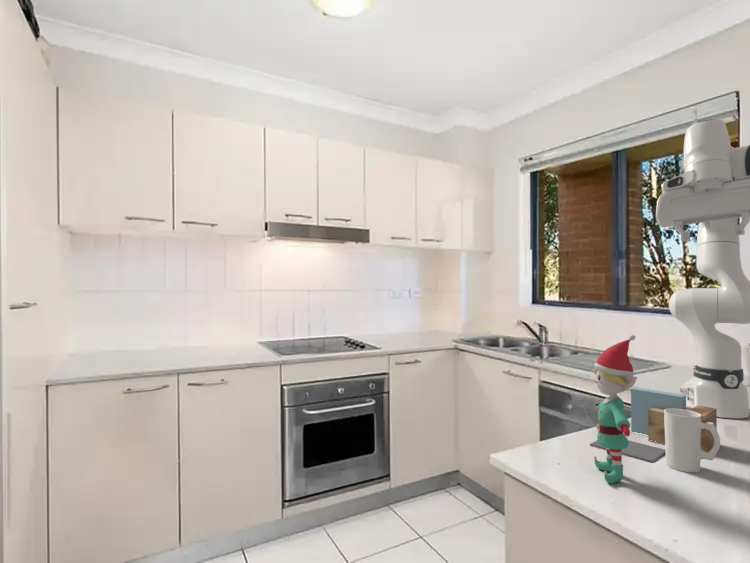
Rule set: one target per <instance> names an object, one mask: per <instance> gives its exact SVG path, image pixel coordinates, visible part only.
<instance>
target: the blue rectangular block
mask: <svg viewBox="0 0 750 563" xmlns="http://www.w3.org/2000/svg"><path fill="white" fill-rule="evenodd" d="M651 408H657V409H663V410H665V409H684V410H686V395H682V394H681V393H675V392H669V391H662V390H657V389H650V388H643V387H638V386H634V387H631V388H630V418H631V419H630V428H631V431H632V432H637V433H642V434H646V435H648V410H649V409H651ZM631 431H630V432H631ZM632 432H631V433H632Z"/></svg>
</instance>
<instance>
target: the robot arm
mask: <svg viewBox="0 0 750 563" xmlns="http://www.w3.org/2000/svg"><path fill="white" fill-rule="evenodd" d="M731 146H732V145H731V139H730V135H729V131H728V127H727V125H726V122H724V120H721V119H719V118H717V119H715V118H711V119H706V120H701V121H698V122H695V123H693V124H692V125H690V126H689V127H688V128H687V129H686V131H685V133H684V140H683V157H682V159H681V160H680V162H679V166H680V168H679V169H680V175H677V176H674V177H672V178H671V179H669V180H666V181H663V183H661V194H660V195H659V197H658V199H657V201H656V203H657V204H656V209H655V220H656V224H657V225H658V226H659V227H661V228H669V227H670V228H671V227H675V230H676V231H677V233H679V234H680V241H681V242H689V241H691V238H690V237H691V234H690V230H684V226H685V225H692V224H693V225H694V224H699V226H698V231H697V236H696V262H695V263H696V270H697V271H698V273H699V274H701V275H702V276H703V277H706V278H708V279H711V280H714V281H716V282H718V284H720V285H721V286H719V287H697V288H696V287H692V288H691V287H690V288H684V289H679V290H676V291H674V292H673V293H672V295H671V296H670V298H669V300H668V309H669V312H670V313H671V315H672V316H673V318H674V319H676V320H678V321H679V322H681V323H682V324H683V325H684V326H686V328H687V329H688V330H689V332H690V333H691V335H692V337H693V339H694V342H695V343H694V344H695V349H696V350H695V351H696V365H693V366H692V367H693V368H692V369H693V374H692V375H693V376H692V377H691V378H689V379H688V380H687V381H686V382H684V383H682V385H681V387H680V388H679V394H682V395H686V407H689V408H694V407H695V406H697V405H699V406H705V407H711V408H716V409H717V418H723V419H724V418H726V419H745V418H746V419H747V418H749V417H750V403H749V402H750V400H749V394H748V388H747V386H746V385H745V384H744V383H743V382H744V378H745V373H744V369H743V368H742V346H741V344H740V342H739V341H738V340H737V339H735V338H734V337H732V336H730V335H727V334H726V333H723V332H721V331H719V330H718V329H717V328H716V326H715V325H716V324H734V325H735V324H736V325H737V324H738V325H740V324H741V325H747V324H750V280H749V279H748V278H747V276H746V275H745V273H744V270H743V268H742V267H743V266H742V263H741V262H742V260H741V253H740V252H741V251H740V250H741V248H740V246H741V245H740V244H741V242H740V236H741V235H742V236H743V235H744V236H745V234H746V232H745V228H746V227H747V225H748V224H749V222H750V144H749V145H748V144H747V145H743V146H739V147H733V148H732V147H731ZM740 218H741V221H740V223H739V224H738V222H737V221H738V219H740Z"/></svg>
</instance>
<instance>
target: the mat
mask: <svg viewBox="0 0 750 563" xmlns="http://www.w3.org/2000/svg"><path fill="white" fill-rule="evenodd" d="M628 441H629V445H628V447H627V448H625V449H622V455H623V454H624V455H623V456H626V455H627V456H626V457H630V458H633V457H634V458H633V459H637V460H641V461H645V462H649V463H654V462H655V461H657V460H659V458H661V457H663V456H664V455H666V452H665V448H661V447H656V446H654V445H653V446H652V445H648V444H645V443H640V442H636V441H632V440H628ZM589 446H590V447H594V446H595V448H597V447H599V448H598V449H601V448H602V449H601V450H605V449H606V447H603V446H601V445H600V444H599V443H598V440H595V441H593V442H590V444H589Z"/></svg>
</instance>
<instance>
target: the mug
mask: <svg viewBox="0 0 750 563" xmlns="http://www.w3.org/2000/svg"><path fill="white" fill-rule="evenodd" d="M664 425H665V446H664V447H665V448H664V449H665V452H666V454H665V463H666V464H665V465H666V466H668V467H669V468H671V469H673V470H675V471H679V472H685V473H698V472H700V471H701V461H702V460H707V461H713V460H714V458H715V457H716V455H717V453H718V451H719V450H720V447H721V438H720V434H719V432H718V429H717V430H716V428H715V426H714V423H710V422H706V423H702V422H701V414H699V413H697V412H694V411H690V410H684V409H665V410H664ZM701 429H707V430H709V431H710V432H711V433H712V435H713V437H714V445H713V448H712V449H710V450H709V451H708V452H703V451H702V450H701V447H700V444H701Z"/></svg>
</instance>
